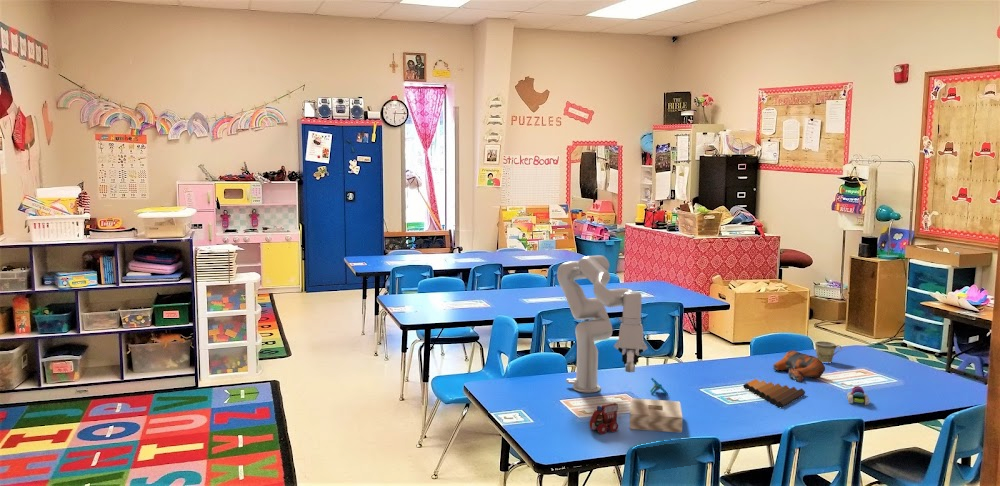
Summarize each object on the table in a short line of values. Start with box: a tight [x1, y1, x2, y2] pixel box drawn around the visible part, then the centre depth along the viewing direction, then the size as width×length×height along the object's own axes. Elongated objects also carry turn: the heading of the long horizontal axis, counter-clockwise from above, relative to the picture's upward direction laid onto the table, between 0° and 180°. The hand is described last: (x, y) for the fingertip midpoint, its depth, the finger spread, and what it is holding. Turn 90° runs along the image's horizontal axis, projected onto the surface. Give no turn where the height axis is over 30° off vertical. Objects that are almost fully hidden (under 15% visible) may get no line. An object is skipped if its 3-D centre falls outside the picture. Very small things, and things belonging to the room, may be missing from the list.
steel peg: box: [624, 348, 636, 373], centre depth 324 cm, size 4×4×10 cm
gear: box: [649, 377, 669, 396], centre depth 346 cm, size 11×6×10 cm
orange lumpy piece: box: [772, 350, 826, 382], centre depth 381 cm, size 25×13×17 cm
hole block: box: [629, 397, 683, 433], centre depth 309 cm, size 20×20×6 cm
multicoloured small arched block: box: [846, 385, 870, 406], centre depth 337 cm, size 8×10×7 cm
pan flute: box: [742, 378, 806, 409], centre depth 346 cm, size 25×3×25 cm
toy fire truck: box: [588, 402, 619, 435], centre depth 299 cm, size 7×12×10 cm, turn 117°
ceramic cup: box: [814, 340, 842, 363], centre depth 404 cm, size 13×10×10 cm
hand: (630, 363), depth 324 cm, fingers closed on steel peg, 4 cm apart
